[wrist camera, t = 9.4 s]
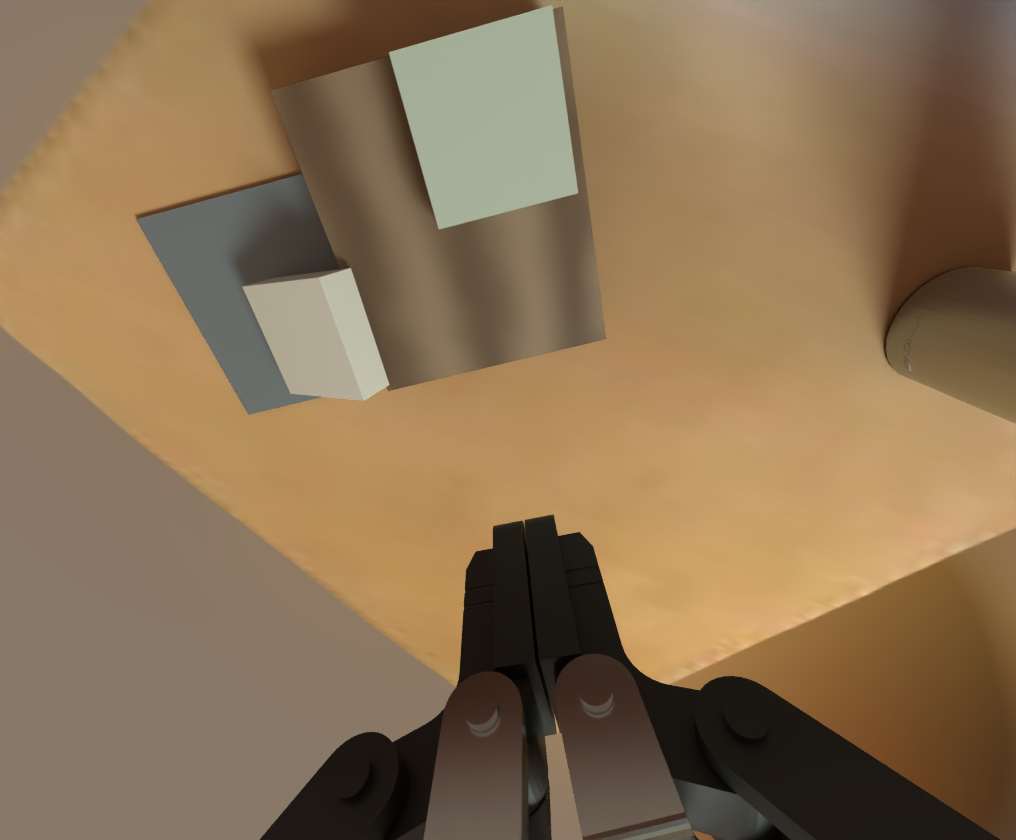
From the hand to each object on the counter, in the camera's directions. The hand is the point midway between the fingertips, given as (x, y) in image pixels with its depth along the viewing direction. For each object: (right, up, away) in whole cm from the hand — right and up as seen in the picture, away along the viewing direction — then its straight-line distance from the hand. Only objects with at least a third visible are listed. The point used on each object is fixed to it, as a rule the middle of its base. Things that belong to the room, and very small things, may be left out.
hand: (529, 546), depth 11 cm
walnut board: (-4, +17, +20) cm, 26 cm away
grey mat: (-18, +12, +21) cm, 30 cm away
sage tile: (-2, +19, +14) cm, 24 cm away
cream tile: (-13, +9, +20) cm, 26 cm away
